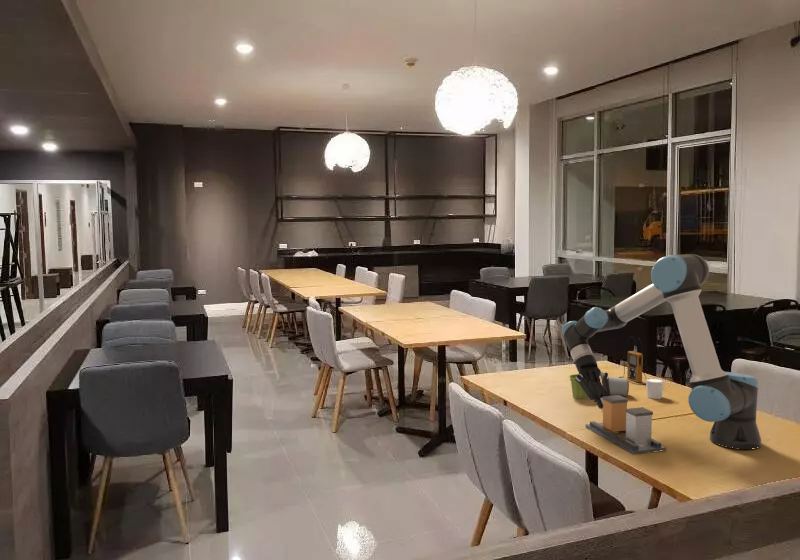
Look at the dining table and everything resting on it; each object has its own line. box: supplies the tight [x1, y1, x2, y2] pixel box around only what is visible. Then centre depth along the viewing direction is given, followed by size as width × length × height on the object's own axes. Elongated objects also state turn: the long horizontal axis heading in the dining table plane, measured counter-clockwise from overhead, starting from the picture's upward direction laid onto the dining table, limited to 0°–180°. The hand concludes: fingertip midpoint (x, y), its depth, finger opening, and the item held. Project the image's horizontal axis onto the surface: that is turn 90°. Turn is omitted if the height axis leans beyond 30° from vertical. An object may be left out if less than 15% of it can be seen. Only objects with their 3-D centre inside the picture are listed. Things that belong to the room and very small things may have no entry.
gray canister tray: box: [585, 406, 667, 455], centre depth 222 cm, size 28×12×12 cm, turn 16°
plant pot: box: [568, 373, 589, 400], centre depth 272 cm, size 9×9×9 cm
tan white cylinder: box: [645, 378, 665, 400], centre depth 272 cm, size 7×7×7 cm
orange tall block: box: [602, 395, 629, 432], centre depth 227 cm, size 5×6×11 cm
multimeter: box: [618, 336, 647, 386], centre depth 297 cm, size 15×10×20 cm
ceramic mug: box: [607, 376, 630, 397], centre depth 277 cm, size 11×8×8 cm
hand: (608, 415), depth 231 cm, fingers closed
